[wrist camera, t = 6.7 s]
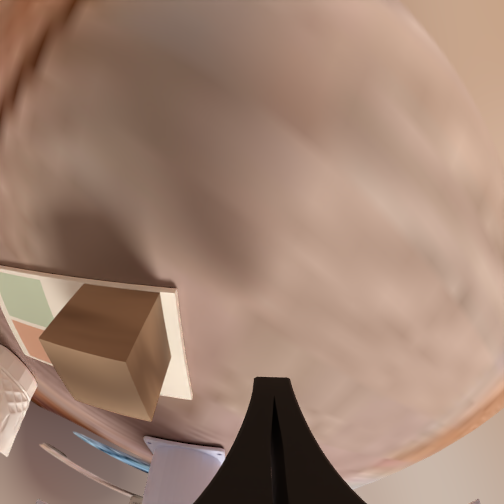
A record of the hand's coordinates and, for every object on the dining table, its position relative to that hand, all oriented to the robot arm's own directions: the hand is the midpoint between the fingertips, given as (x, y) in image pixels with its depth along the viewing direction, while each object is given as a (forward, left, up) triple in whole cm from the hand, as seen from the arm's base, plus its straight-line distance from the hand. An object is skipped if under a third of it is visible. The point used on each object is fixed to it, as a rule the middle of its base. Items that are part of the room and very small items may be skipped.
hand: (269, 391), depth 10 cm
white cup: (-11, +26, -4) cm, 28 cm away
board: (-2, +13, -4) cm, 13 cm away
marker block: (0, +8, -4) cm, 8 cm away
